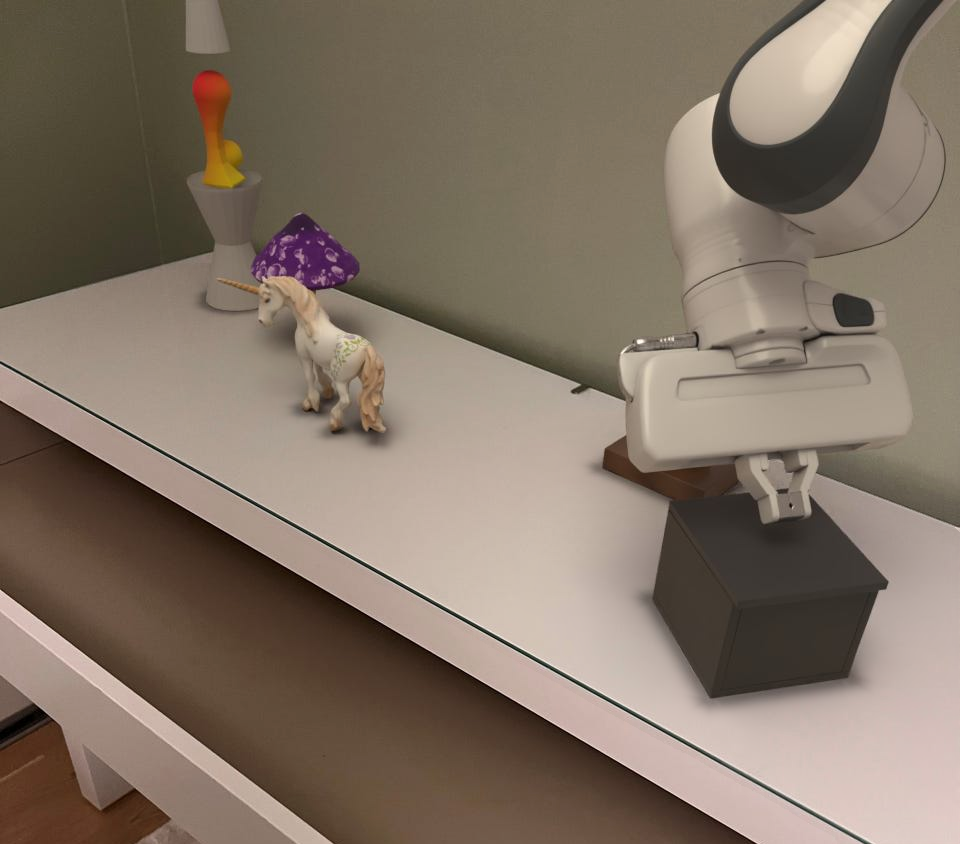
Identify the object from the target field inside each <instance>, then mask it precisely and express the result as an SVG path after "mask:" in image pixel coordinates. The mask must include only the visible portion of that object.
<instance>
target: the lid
mask: <svg viewBox="0 0 960 844" xmlns="http://www.w3.org/2000/svg"><path fill="white" fill-rule="evenodd" d="M775 490H776V491H777V493H778V494H783V493H788V490H789V487H787V488H786V487H785V488H778V489H775ZM809 500H810V505H811V516H810V517H809V518H806V519H803V520H798V521H788V522H779V523H772V524H763V523H762V521H761V518H760V512H759V507H758V502H757V500H755V499H754V498H753V497H752V495H751V494H750V493H749V492H748V491H747V492H739V493H731V494H721V495H720V496H710V497H701V498H691V499H682V500H675V499H671V500H669V502H668V509H669V510H670V511H671V512H672V514H673V515H674V517H675V518H676V520H677V521H678V523H679V524H680V526H681V527H682V529H683V530H684V531H685V533H686V534H687V536H688V537H689V539H690V540H691V542H692V543H693V545H694V546H695V548H696V549H697V550H698V552H699V553H700V555H701V556H702V558H703V559H704V561H705V562H706V564H707V565H708V567H709V568H710V569H711V571H712V572H713V574H714V575H715V577H716V578H717V580H718V581H719V583H720V584H721V586H722V587H723V588H724V590H725V591H726V593H727V594H728V596H729V597H730V599H731V600H732V602H733V603H734V605H735V606H736V607H737V609H742V608H750V607H757V606H765V605H772V604H780V603H788V602H795V601H803V600H811V599H818V598H826V597H834V596H841V595H849V594H856V593H864V592H872V591H879V592H880V591H886V590H887V589H888V586H889V584H890V581H889V580H888V579H887V578H886V577H885V576H884V575H883V573H881V572H880V570H879V569H878V567H876V566H875V565H874V564H873V562H872V561H871V560H870V559H869V558H868V557H867V556H866V555H865V554H864V553H863V552H862V551H861V549H859V547H858V546H857V545H856V543H854V542H853V541H852V539H851V538H850V537H849V536H848V535H847V534H846V533H845V532H844V531H843V530H842V528H841V527H839V525H838V524H837V523H836V522H835V520H833V518H831V516H830V515H828V513H827V512H826V511H825V510H824V509H823V508H822V507H821V505H820V504H818V502H817V501H816V500H815V499H814V498H813V497H812V496H811V495H810V494H809Z"/></svg>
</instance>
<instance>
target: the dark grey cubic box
mask: <svg viewBox="0 0 960 844" xmlns="http://www.w3.org/2000/svg"><path fill="white" fill-rule="evenodd" d="M665 519H666V520H665V525H664V531H663V537H662V541H661V542H662V543H661V548H660V554H659V559H658V564H657V570H656V574H655V582H654V586H653V593H652V601H653V603H654V605H655V606H656V608H657V609H658V611H659V613H660V615H661V617H662V618H663V620H664V622H665V623H666V625H667V627H668V629H669V630H670V631H671V634H672V635H673V637H674V639H675V640H676V642H677V644H678V646H679V647H680V649H681V650H682V652H683V654H684V656H685V657H686V659H687V661H688V662H689V664H690V666H691V668H692V669H693V672H695V674H696V676H697V678H698V679H699V681H700V684H702V687H703V688H704V690H705V691H706V694H707V695H708V696H709V698H710V699H712V698H713V699H714V698H719V697H725V696H733V695H740V694H746V693H747V694H748V693H753V692H760V691H766V690H773V689H780V688H785V687H786V688H787V687H793V686H800V685H807V684H813V683H814V684H815V683H820V682H825V681H826V682H827V681H833V680H834V681H835V680H840V679H845V678H849V675H850V672H851V669H852V666H853V664H854V661H855V658H856V656H857V653H858V650H859V647H860V645H861V641H862V639H863V636H864V633H865V631H866V627H867V625H868V622H869V619H870V617H871V614H872V612H873V608H874V605H875V603H876V600H877V598H878V595H879V592H880V590H879V591H872V592H864V593H856V594H849V595H841V596H834V597H826V598H818V599H811V600H803V601H795V602H788V603H780V604H772V605H765V606H757V607H750V608H742V609H737V607H736V606H735V605H734V603H733V602H732V600H731V599H730V597H729V596H728V594H727V593H726V591H725V590H724V588H723V587H722V586H721V584H720V583H719V581H718V580H717V578H716V577H715V575H714V574H713V572H712V571H711V569H710V568H709V567H708V565H707V564H706V562H705V561H704V559H703V558H702V556H701V555H700V553H699V552H698V550H697V549H696V548H695V546H694V545H693V543H692V542H691V540H690V539H689V537H688V536H687V534H686V533H685V531H684V530H683V529H682V527H681V526H680V524H679V523H678V521H677V520H676V518H675V517H674V515H673V514H672V512H671V511H670V510H669V508H668V509H667V514H666V518H665Z"/></svg>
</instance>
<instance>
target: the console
mask: <svg viewBox="0 0 960 844" xmlns="http://www.w3.org/2000/svg"><path fill="white" fill-rule="evenodd" d="M601 468H602V469H604V470H607V471H608V472H610V473H613V474H616V475H618V476H620V477H621V478H622V477H623V478H625V479H627V480H629V481H632V482H633V483H635V484H638V485H641V486H643V487H646V488H647V489H649V490H652V491H654V492H657V493H658V494H661V495H663V496H666V497H668V498H670V499H671V500H682V499H691V498H701V497H710V496H720V495H723V494H724V493H725V492H727V490H729V489H730V488H731V487H733V486H734V485H735V484H736V483H738V482H740V481H739V480H738V478H737V472H736V467H735V463H734V464H725V465H715V466H705V467H695V468H686V469H676V470H666V471H657V472H646V473H644V472H641V471H640V470H639V469H638V468H637V467H636V466H635V465H634V464H633V463H632V462H631V461H630V459H629V456H628V448H627V438H626V434H625V435H623V436H622V437H620V438H619V439H617V440H616V441H614V442H613V443H611V444H609V445H608V446H606V447H605V448H604V450H603V458H602V467H601Z"/></svg>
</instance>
